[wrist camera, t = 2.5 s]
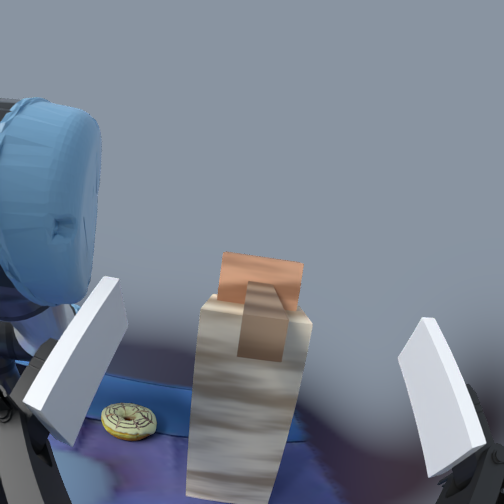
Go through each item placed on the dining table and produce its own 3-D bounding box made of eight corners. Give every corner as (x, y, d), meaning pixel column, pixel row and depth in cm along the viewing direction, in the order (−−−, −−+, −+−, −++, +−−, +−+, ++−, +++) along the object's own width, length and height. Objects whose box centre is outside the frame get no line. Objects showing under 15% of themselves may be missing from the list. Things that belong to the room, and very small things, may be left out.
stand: (266, 506, 32) (312, 324, 31) (185, 495, 32) (200, 308, 31) (265, 467, 42) (299, 305, 41) (196, 458, 42) (213, 293, 41)
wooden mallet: (331, 366, 19) (348, 281, 19) (184, 347, 19) (194, 259, 19) (292, 305, 41) (299, 262, 41) (220, 294, 41) (226, 251, 41)
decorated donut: (165, 439, 46) (165, 425, 45) (111, 448, 39) (109, 432, 39) (144, 411, 54) (144, 397, 54) (97, 415, 47) (95, 401, 47)
